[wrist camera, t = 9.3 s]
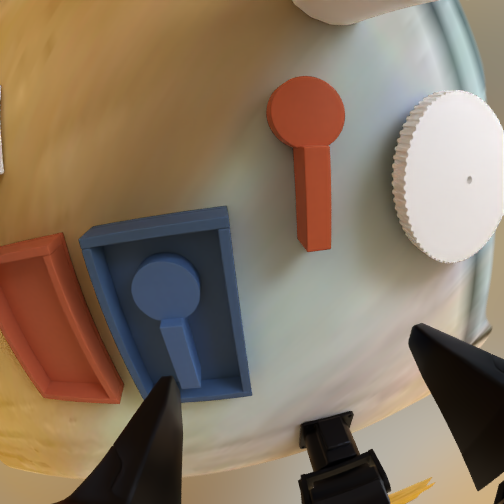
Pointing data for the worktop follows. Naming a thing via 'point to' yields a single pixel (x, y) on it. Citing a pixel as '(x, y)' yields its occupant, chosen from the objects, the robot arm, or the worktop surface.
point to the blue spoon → (171, 308)
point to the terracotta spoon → (309, 150)
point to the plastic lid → (449, 175)
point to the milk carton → (0, 159)
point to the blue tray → (201, 320)
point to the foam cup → (351, 9)
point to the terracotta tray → (53, 324)
